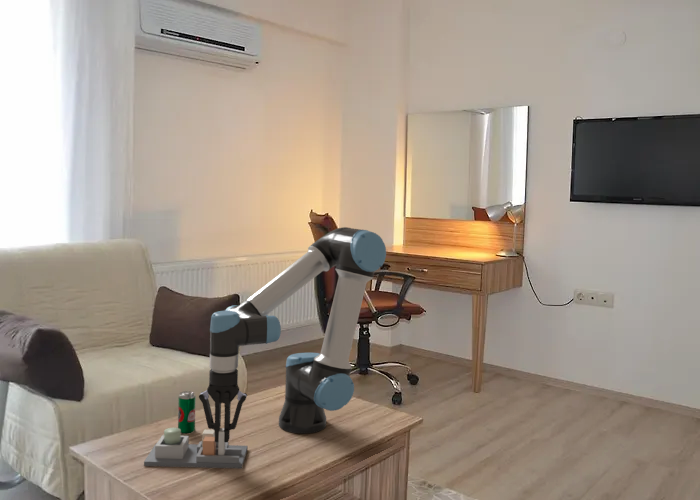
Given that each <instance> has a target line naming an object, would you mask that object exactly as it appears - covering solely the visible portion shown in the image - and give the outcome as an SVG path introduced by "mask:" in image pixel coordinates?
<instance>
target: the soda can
mask: <svg viewBox="0 0 700 500" xmlns="http://www.w3.org/2000/svg"><path fill="white" fill-rule="evenodd" d="M177 401H178V402H177V404H178V406H177V407H178V408H177V428H179V429H180V430H181V435H189V434H192V433H194V432H195V430H196V401H197V399H196V395H195V391H191V390H187V391H186V390H185V391H182V392H179V395H178V399H177Z"/></svg>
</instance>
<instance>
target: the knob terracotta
mask: <svg viewBox="0 0 700 500" xmlns="http://www.w3.org/2000/svg"><path fill="white" fill-rule="evenodd" d="M203 455H216V442H215V437H205V438H204V440H203Z"/></svg>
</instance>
